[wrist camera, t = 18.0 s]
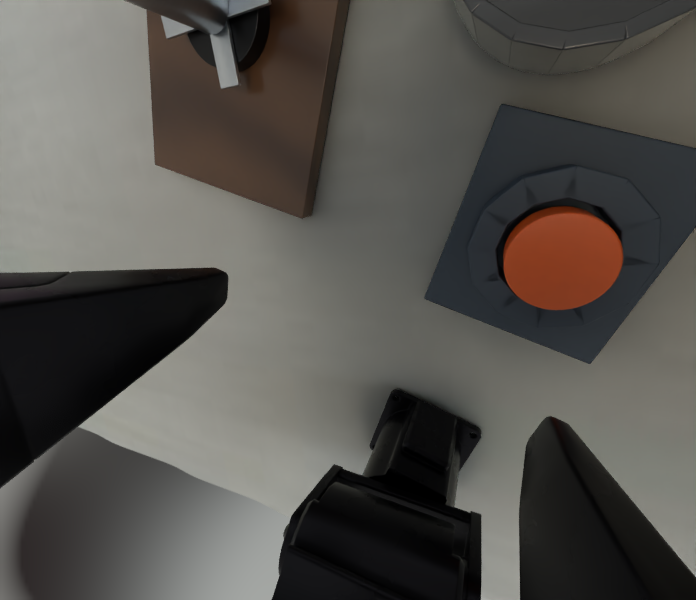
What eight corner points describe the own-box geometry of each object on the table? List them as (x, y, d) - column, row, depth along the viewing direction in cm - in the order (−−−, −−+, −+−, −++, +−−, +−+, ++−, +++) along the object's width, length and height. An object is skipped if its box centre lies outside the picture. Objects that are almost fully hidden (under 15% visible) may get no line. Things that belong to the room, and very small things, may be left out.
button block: (585, 353, 18) (599, 386, 15) (427, 291, 20) (417, 311, 18) (729, 159, 13) (783, 161, 11) (501, 106, 15) (501, 97, 13)
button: (576, 308, 15) (585, 325, 13) (488, 276, 16) (487, 289, 14) (633, 223, 13) (650, 232, 12) (529, 193, 14) (532, 198, 13)
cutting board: (311, 215, 21) (302, 219, 20) (169, 164, 24) (154, 164, 23) (393, -245, 13) (384, -280, 12) (155, -239, 15) (130, -267, 14)
